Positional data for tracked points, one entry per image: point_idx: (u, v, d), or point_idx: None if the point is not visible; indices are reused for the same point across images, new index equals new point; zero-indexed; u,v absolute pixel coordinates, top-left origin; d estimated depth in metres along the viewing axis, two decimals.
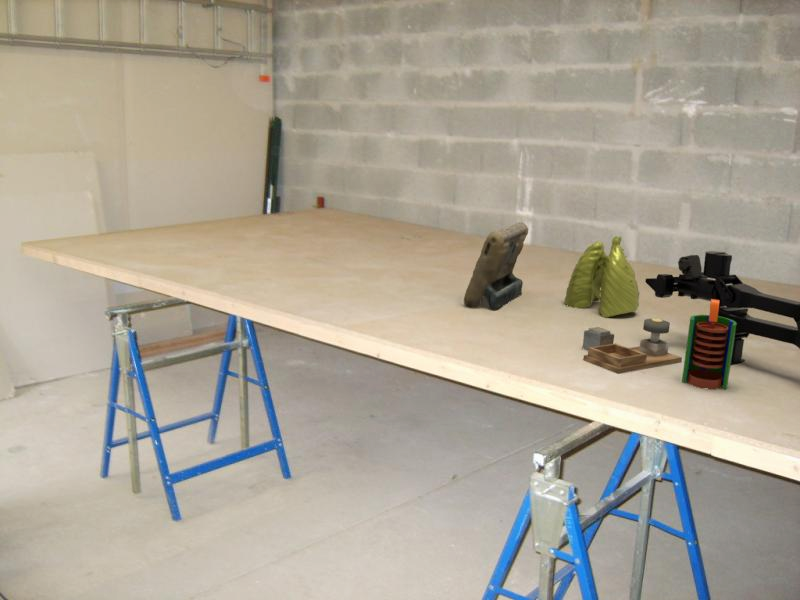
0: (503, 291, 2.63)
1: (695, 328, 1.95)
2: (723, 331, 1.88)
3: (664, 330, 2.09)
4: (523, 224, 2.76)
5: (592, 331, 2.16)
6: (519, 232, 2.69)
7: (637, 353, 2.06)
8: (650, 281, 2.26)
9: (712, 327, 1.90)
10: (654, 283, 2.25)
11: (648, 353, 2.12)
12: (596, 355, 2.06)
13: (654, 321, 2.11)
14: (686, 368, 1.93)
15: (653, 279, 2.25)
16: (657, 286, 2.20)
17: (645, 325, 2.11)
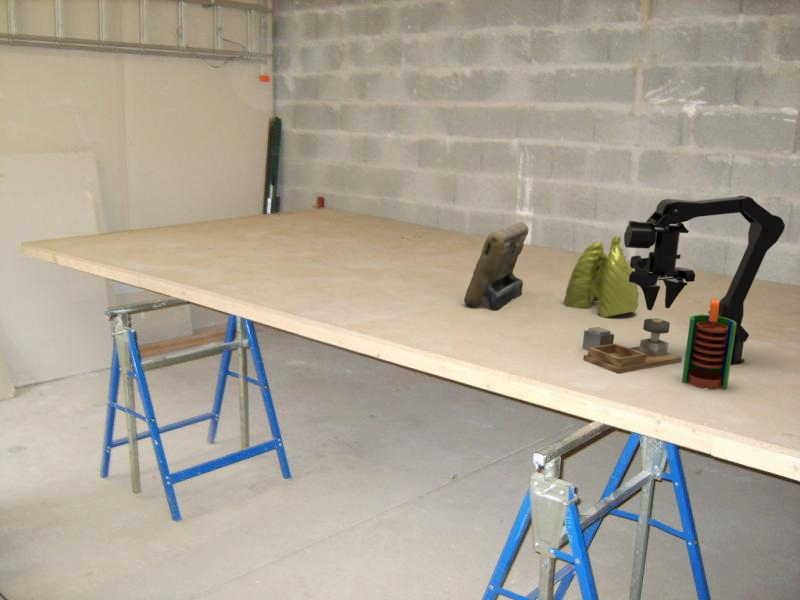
0: (503, 291, 2.63)
1: (695, 328, 1.95)
2: (723, 331, 1.88)
3: (664, 330, 2.09)
4: (523, 224, 2.76)
5: (592, 331, 2.17)
6: (519, 232, 2.69)
7: (637, 353, 2.06)
8: (647, 301, 2.08)
9: (712, 327, 1.90)
10: (648, 295, 2.07)
11: (648, 353, 2.12)
12: (596, 355, 2.06)
13: (654, 321, 2.11)
14: (686, 368, 1.93)
15: (645, 296, 2.08)
16: (637, 281, 2.04)
17: (645, 325, 2.11)
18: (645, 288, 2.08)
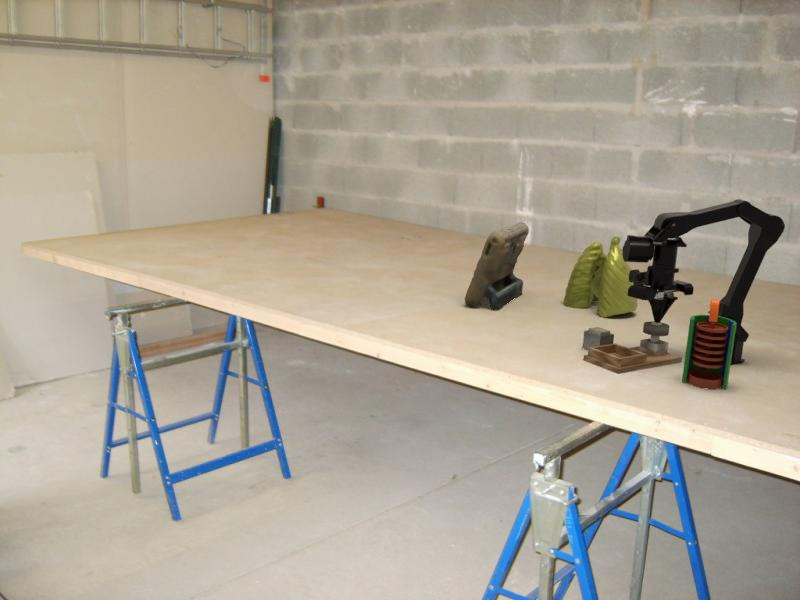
0: (504, 291, 2.63)
1: (695, 328, 1.95)
2: (723, 331, 1.88)
3: (664, 333, 2.09)
4: (523, 224, 2.76)
5: (592, 331, 2.16)
6: (520, 232, 2.69)
7: (637, 353, 2.06)
8: (655, 314, 2.11)
9: (712, 327, 1.90)
10: (655, 308, 2.10)
11: (648, 353, 2.12)
12: (596, 355, 2.06)
13: (654, 324, 2.11)
14: (686, 368, 1.93)
15: (652, 308, 2.11)
16: (635, 295, 2.05)
17: (645, 328, 2.11)
18: (652, 301, 2.10)
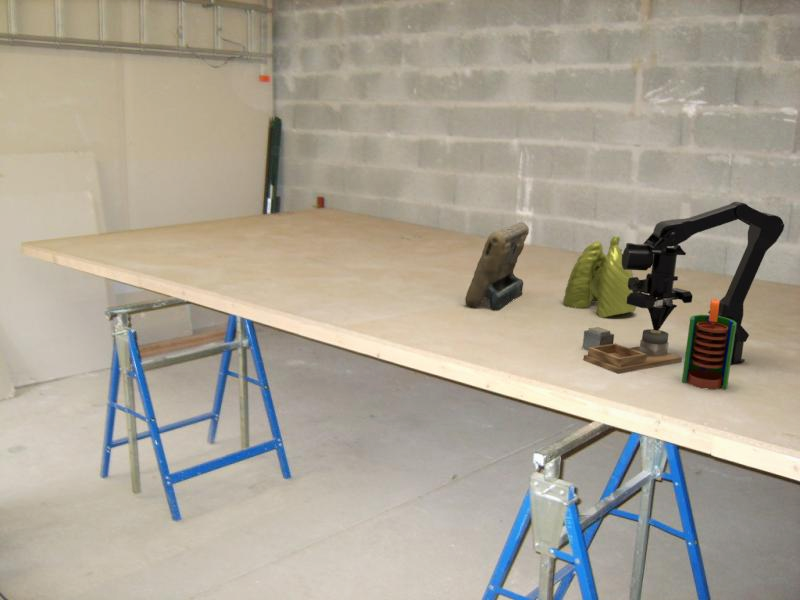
0: (504, 291, 2.63)
1: (695, 328, 1.95)
2: (723, 331, 1.88)
3: (663, 341, 2.10)
4: (524, 224, 2.76)
5: (592, 331, 2.16)
6: (520, 232, 2.69)
7: (637, 353, 2.06)
8: (653, 321, 2.11)
9: (712, 327, 1.90)
10: (654, 315, 2.10)
11: (648, 353, 2.12)
12: (596, 355, 2.06)
13: (653, 332, 2.11)
14: (686, 368, 1.93)
15: (651, 316, 2.11)
16: (634, 303, 2.05)
17: (644, 336, 2.12)
18: (651, 309, 2.10)
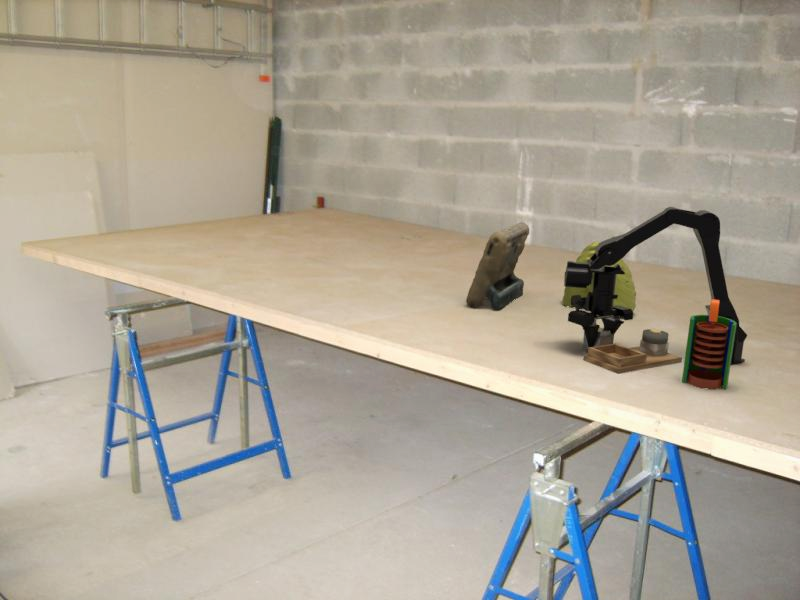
0: (505, 291, 2.63)
1: (695, 328, 1.95)
2: (723, 331, 1.88)
3: (663, 341, 2.10)
4: (524, 224, 2.76)
5: None
6: (521, 232, 2.69)
7: (637, 353, 2.06)
8: (588, 339, 2.16)
9: (712, 327, 1.90)
10: (589, 333, 2.15)
11: (648, 353, 2.12)
12: (596, 355, 2.06)
13: (653, 332, 2.11)
14: (686, 368, 1.93)
15: (586, 334, 2.16)
16: (575, 321, 2.11)
17: (644, 336, 2.12)
18: (586, 327, 2.15)
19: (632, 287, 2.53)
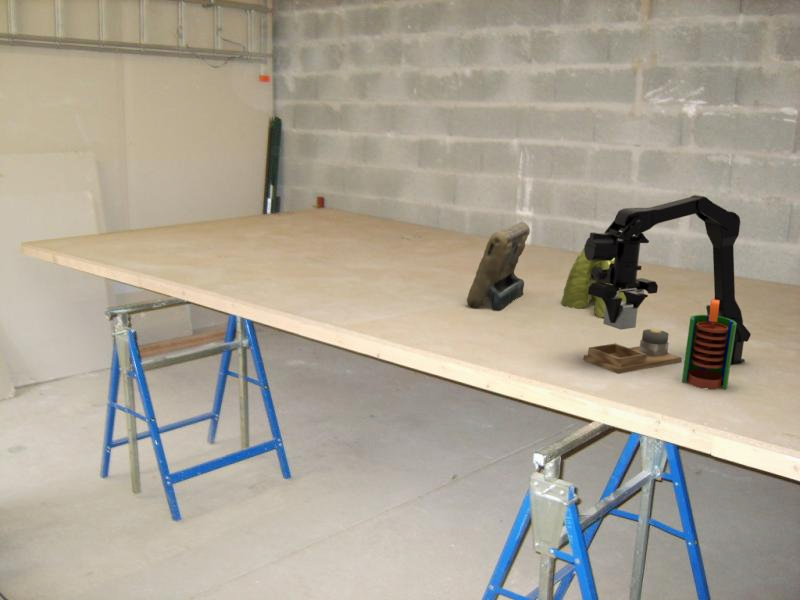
0: (506, 291, 2.63)
1: (695, 328, 1.95)
2: (723, 331, 1.88)
3: (663, 341, 2.10)
4: (525, 224, 2.76)
5: None
6: (521, 232, 2.69)
7: (637, 353, 2.06)
8: (610, 314, 2.02)
9: (712, 327, 1.90)
10: (610, 307, 2.02)
11: (648, 353, 2.12)
12: (596, 355, 2.06)
13: (653, 332, 2.11)
14: (686, 368, 1.93)
15: (607, 308, 2.03)
16: (596, 294, 1.98)
17: (644, 336, 2.12)
18: (607, 300, 2.02)
19: None
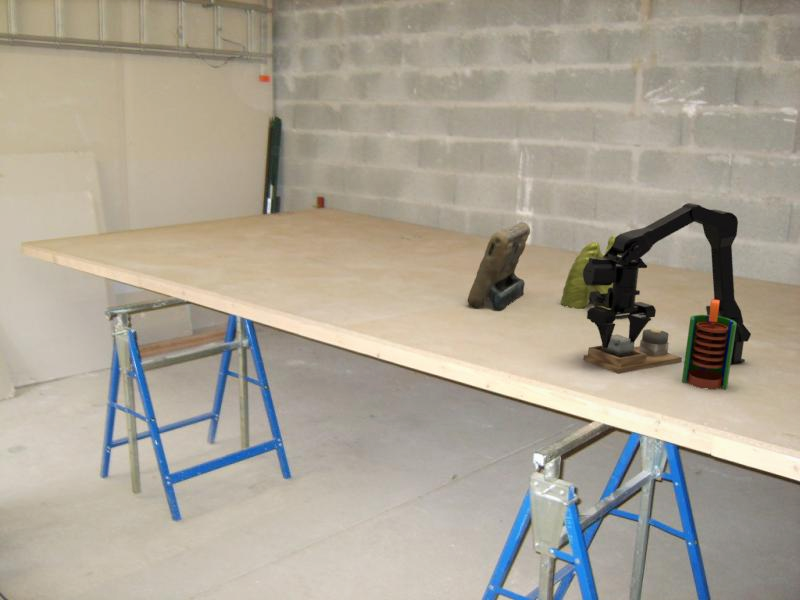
0: (506, 291, 2.62)
1: (695, 328, 1.95)
2: (723, 331, 1.88)
3: (663, 341, 2.10)
4: (525, 224, 2.76)
5: (611, 339, 2.05)
6: (522, 232, 2.69)
7: (637, 353, 2.06)
8: (603, 339, 2.02)
9: (712, 327, 1.90)
10: (603, 333, 2.02)
11: (648, 353, 2.12)
12: (596, 355, 2.06)
13: (653, 332, 2.11)
14: (686, 368, 1.93)
15: (600, 333, 2.02)
16: (594, 319, 1.99)
17: (644, 336, 2.12)
18: (600, 325, 2.02)
19: None
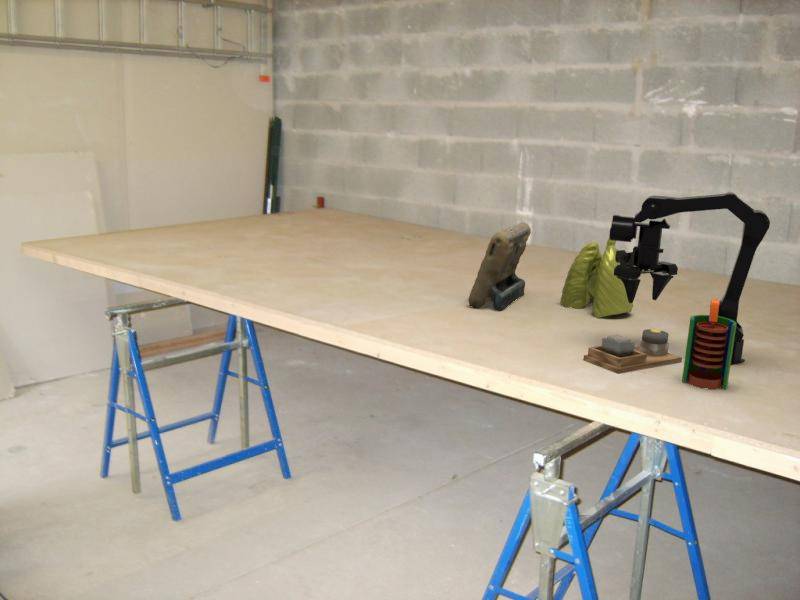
0: (507, 291, 2.62)
1: (695, 328, 1.95)
2: (723, 331, 1.88)
3: (663, 341, 2.10)
4: (526, 224, 2.76)
5: (611, 339, 2.05)
6: (522, 232, 2.69)
7: (637, 353, 2.06)
8: (628, 294, 2.16)
9: (712, 327, 1.90)
10: (629, 288, 2.15)
11: (648, 353, 2.12)
12: (596, 355, 2.06)
13: (653, 332, 2.11)
14: (686, 368, 1.93)
15: (626, 289, 2.16)
16: (621, 275, 2.12)
17: (644, 336, 2.12)
18: (626, 282, 2.15)
19: None
